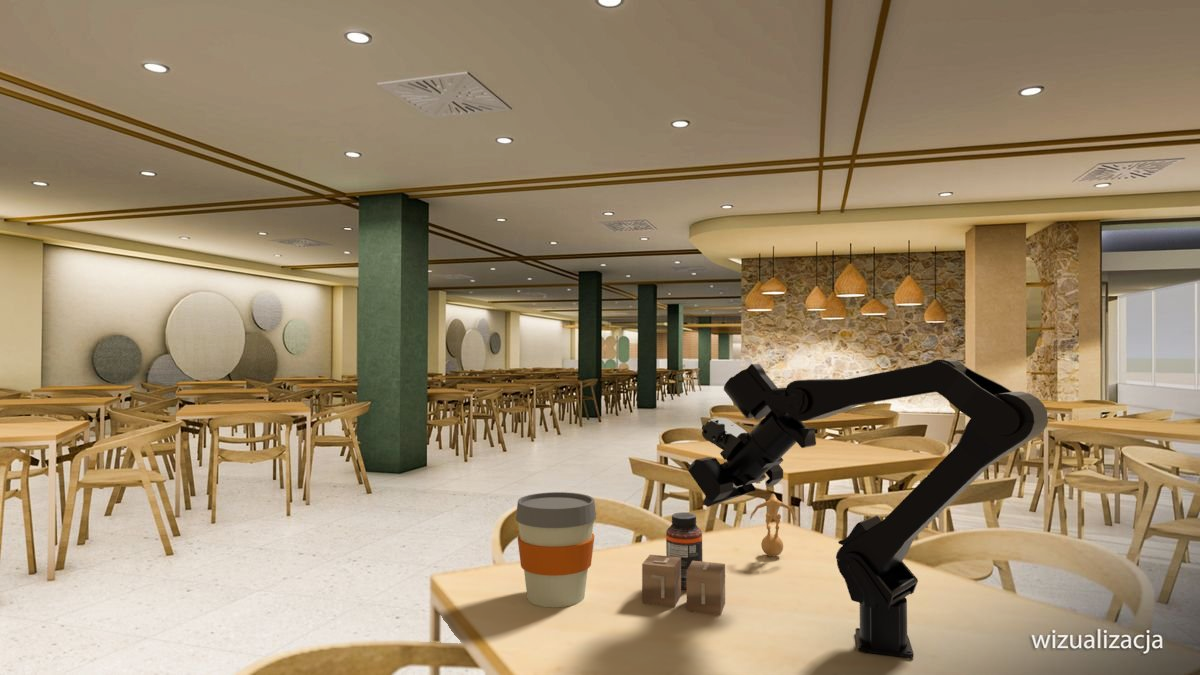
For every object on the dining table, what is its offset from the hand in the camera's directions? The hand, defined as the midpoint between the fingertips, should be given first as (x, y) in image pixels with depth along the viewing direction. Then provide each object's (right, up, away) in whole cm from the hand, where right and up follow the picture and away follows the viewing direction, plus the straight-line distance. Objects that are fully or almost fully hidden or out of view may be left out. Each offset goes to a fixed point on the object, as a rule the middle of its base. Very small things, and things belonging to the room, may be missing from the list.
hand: (706, 504), depth 107 cm
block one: (-1, -14, -7) cm, 16 cm away
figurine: (+15, -14, +17) cm, 27 cm away
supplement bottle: (-3, -14, +3) cm, 15 cm away
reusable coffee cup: (-24, -14, -3) cm, 28 cm away
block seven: (-8, -14, -4) cm, 16 cm away
